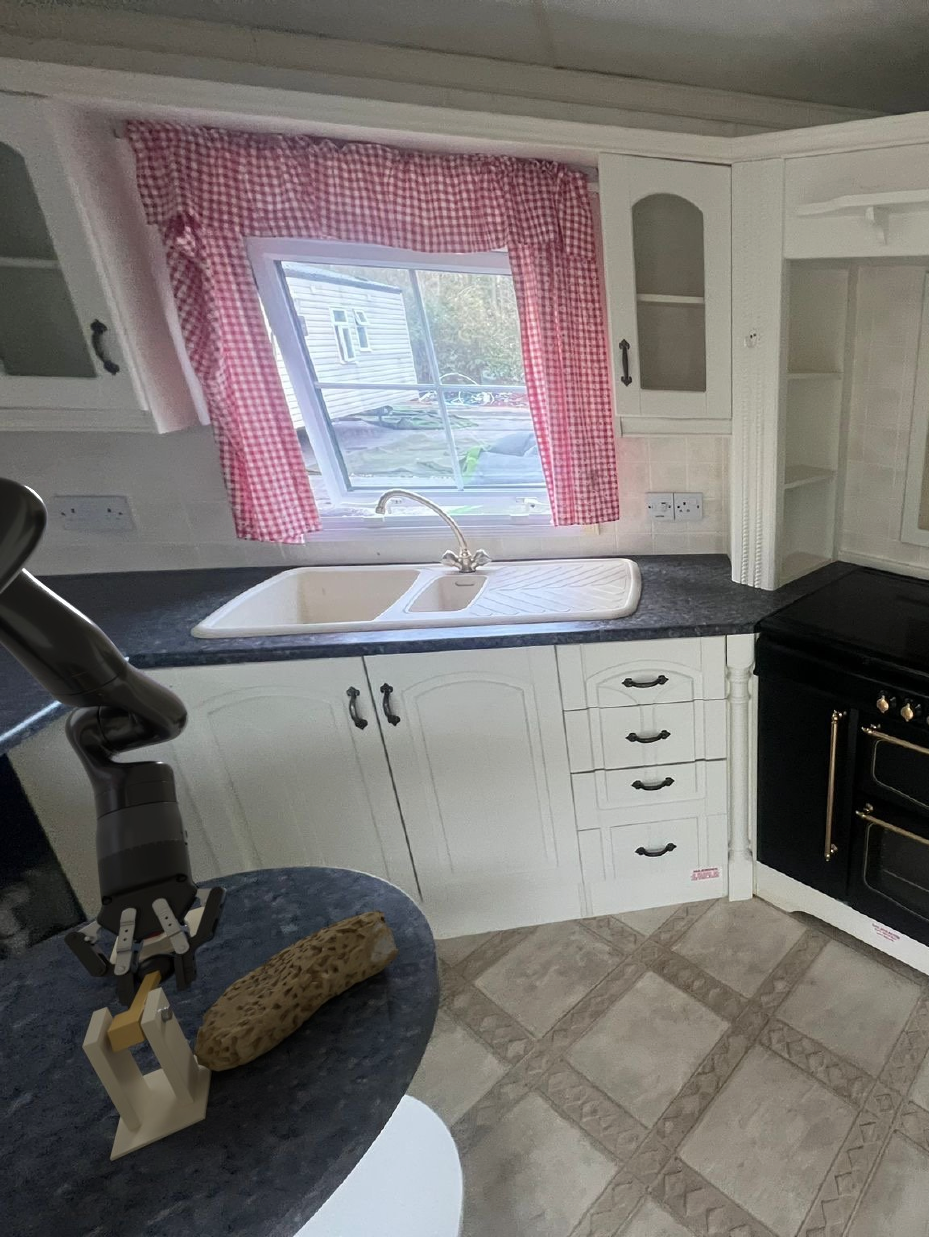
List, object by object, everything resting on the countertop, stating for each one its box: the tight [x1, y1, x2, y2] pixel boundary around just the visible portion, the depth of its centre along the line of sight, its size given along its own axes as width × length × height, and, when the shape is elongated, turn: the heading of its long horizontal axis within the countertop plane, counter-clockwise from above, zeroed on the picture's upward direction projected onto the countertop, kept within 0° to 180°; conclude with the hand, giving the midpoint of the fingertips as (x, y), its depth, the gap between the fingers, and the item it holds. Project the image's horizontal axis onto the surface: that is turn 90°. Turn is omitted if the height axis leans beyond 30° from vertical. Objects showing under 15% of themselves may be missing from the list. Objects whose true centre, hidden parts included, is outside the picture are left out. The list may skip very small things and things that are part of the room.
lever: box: [107, 952, 176, 1053], centre depth 71 cm, size 14×3×3 cm, turn 35°
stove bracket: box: [81, 987, 213, 1162], centre depth 68 cm, size 9×7×14 cm
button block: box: [109, 906, 205, 964], centre depth 88 cm, size 9×7×3 cm
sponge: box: [192, 909, 400, 1072], centre depth 81 cm, size 13×8×20 cm
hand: (160, 997), depth 74 cm, fingers closed on lever, 3 cm apart
